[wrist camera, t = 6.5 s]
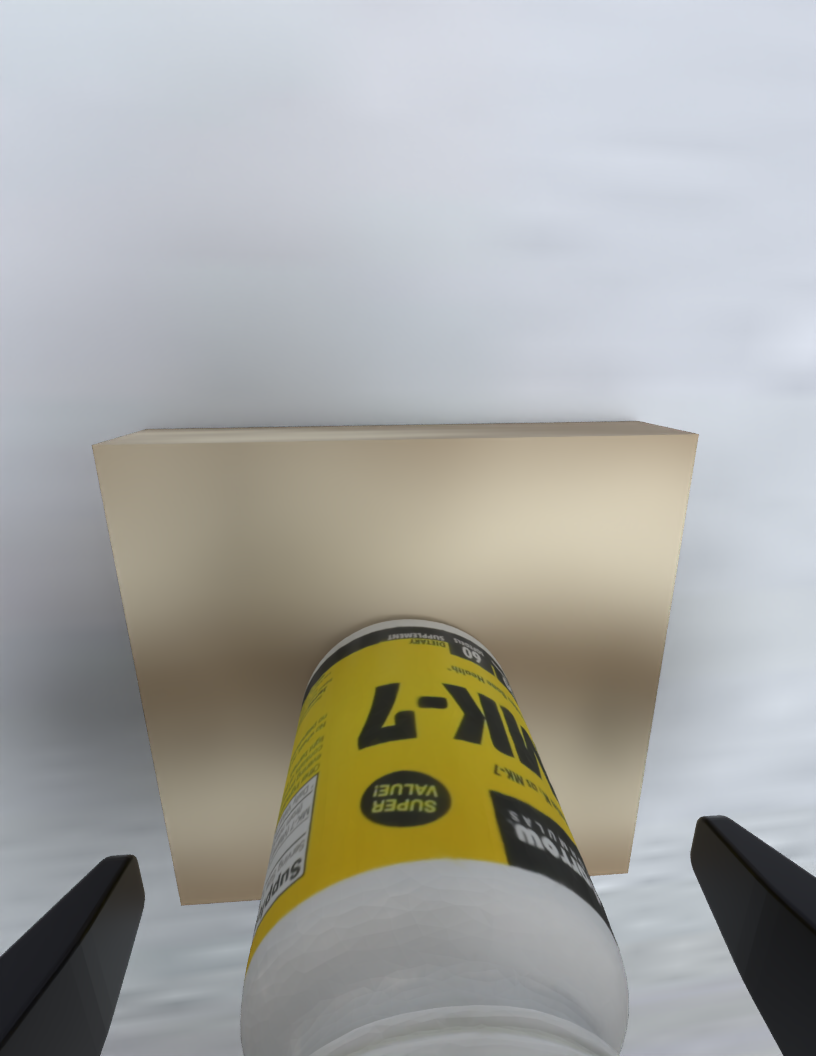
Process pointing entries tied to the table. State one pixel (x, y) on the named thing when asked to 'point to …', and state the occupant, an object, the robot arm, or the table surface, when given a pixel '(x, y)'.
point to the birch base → (390, 600)
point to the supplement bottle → (425, 872)
